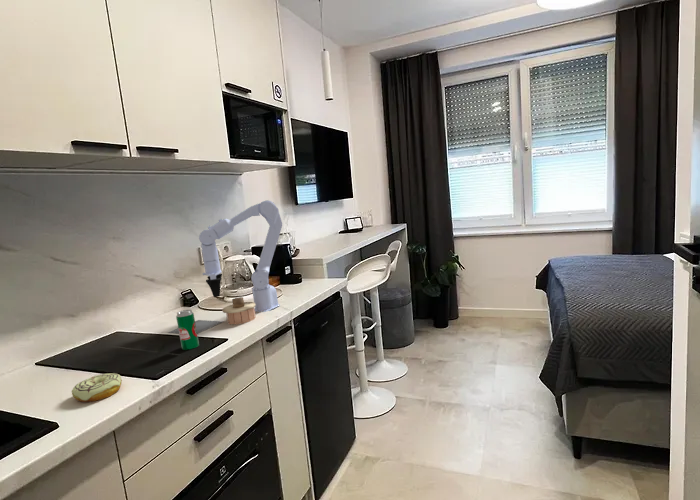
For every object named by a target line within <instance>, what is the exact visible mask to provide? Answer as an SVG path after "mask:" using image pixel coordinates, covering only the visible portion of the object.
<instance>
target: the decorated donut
mask: <svg viewBox="0 0 700 500" xmlns="http://www.w3.org/2000/svg"><path fill="white" fill-rule="evenodd" d="M122 381H123V380H122V375H120V374H118V373H115V372H113V373H101V374H96V375H94V376H91V377H89V378H86V379H84V380H82V381H80V382H78V383H77V384H75V385H74V387H73V388H72V389H71V395H72V397H73V398H74V399H75V400H76V401H78V402H81V403H85V402H86V403H87V402H88V403H89V402H91V403H93V402H96V401H100V400H103V399H107V398H110V397H112V396H113V395H114V394H116V393H117V392H118V391H120V388H121V385H122Z"/></svg>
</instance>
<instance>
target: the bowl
mask: <svg viewBox="0 0 700 500" xmlns="http://www.w3.org/2000/svg"><path fill="white" fill-rule="evenodd" d="M225 315H226V321H227V323H228V325H241V324H246V323H249V322H251V321H254V320H255V319H256V318H257V317H256V316H257V315H256V311H255V307H254V308H252V309H249V310H246V311H242V312H237V313H225Z"/></svg>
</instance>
